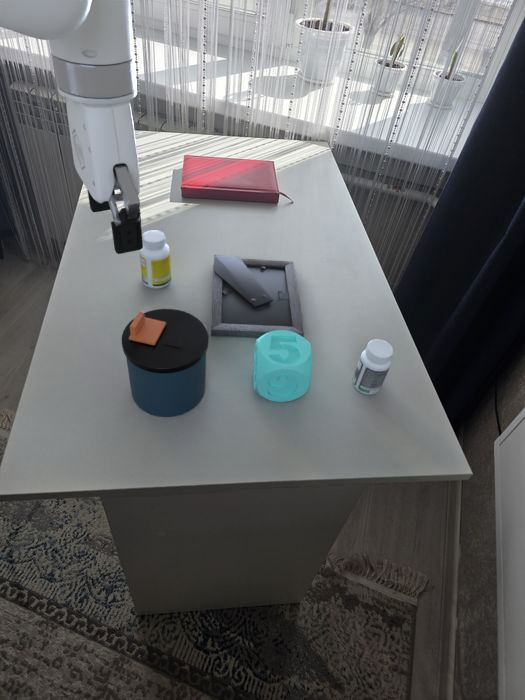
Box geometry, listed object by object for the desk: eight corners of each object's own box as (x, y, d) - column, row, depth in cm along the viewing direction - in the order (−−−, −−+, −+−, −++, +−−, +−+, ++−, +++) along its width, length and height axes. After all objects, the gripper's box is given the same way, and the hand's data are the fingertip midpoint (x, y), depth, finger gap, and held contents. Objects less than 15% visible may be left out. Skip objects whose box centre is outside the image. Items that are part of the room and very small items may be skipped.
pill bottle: (386, 389, 76) (403, 354, 70) (363, 399, 74) (378, 363, 68) (368, 369, 79) (383, 333, 73) (345, 378, 77) (359, 342, 71)
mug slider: (128, 339, 62) (127, 329, 61) (141, 318, 65) (140, 308, 64) (154, 345, 62) (153, 335, 61) (166, 324, 65) (165, 314, 64)
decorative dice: (300, 365, 78) (309, 330, 72) (304, 403, 72) (314, 369, 66) (252, 362, 77) (257, 327, 71) (253, 401, 71) (258, 366, 66)
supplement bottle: (176, 276, 90) (174, 232, 83) (163, 292, 87) (160, 248, 80) (150, 269, 91) (147, 224, 84) (136, 284, 87) (131, 239, 80)
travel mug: (116, 408, 68) (106, 356, 60) (146, 353, 76) (141, 300, 68) (193, 427, 67) (193, 376, 59) (215, 369, 75) (218, 318, 67)
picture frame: (213, 263, 95) (210, 335, 80) (214, 254, 93) (211, 327, 79) (291, 268, 96) (302, 340, 82) (293, 260, 95) (304, 331, 80)
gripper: (35, 49, 49) (66, 200, 61) (81, 111, 39) (107, 276, 51) (107, 48, 52) (123, 191, 64) (166, 104, 42) (171, 261, 54)
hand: (115, 229), depth 58 cm, fingers open, 9 cm apart
